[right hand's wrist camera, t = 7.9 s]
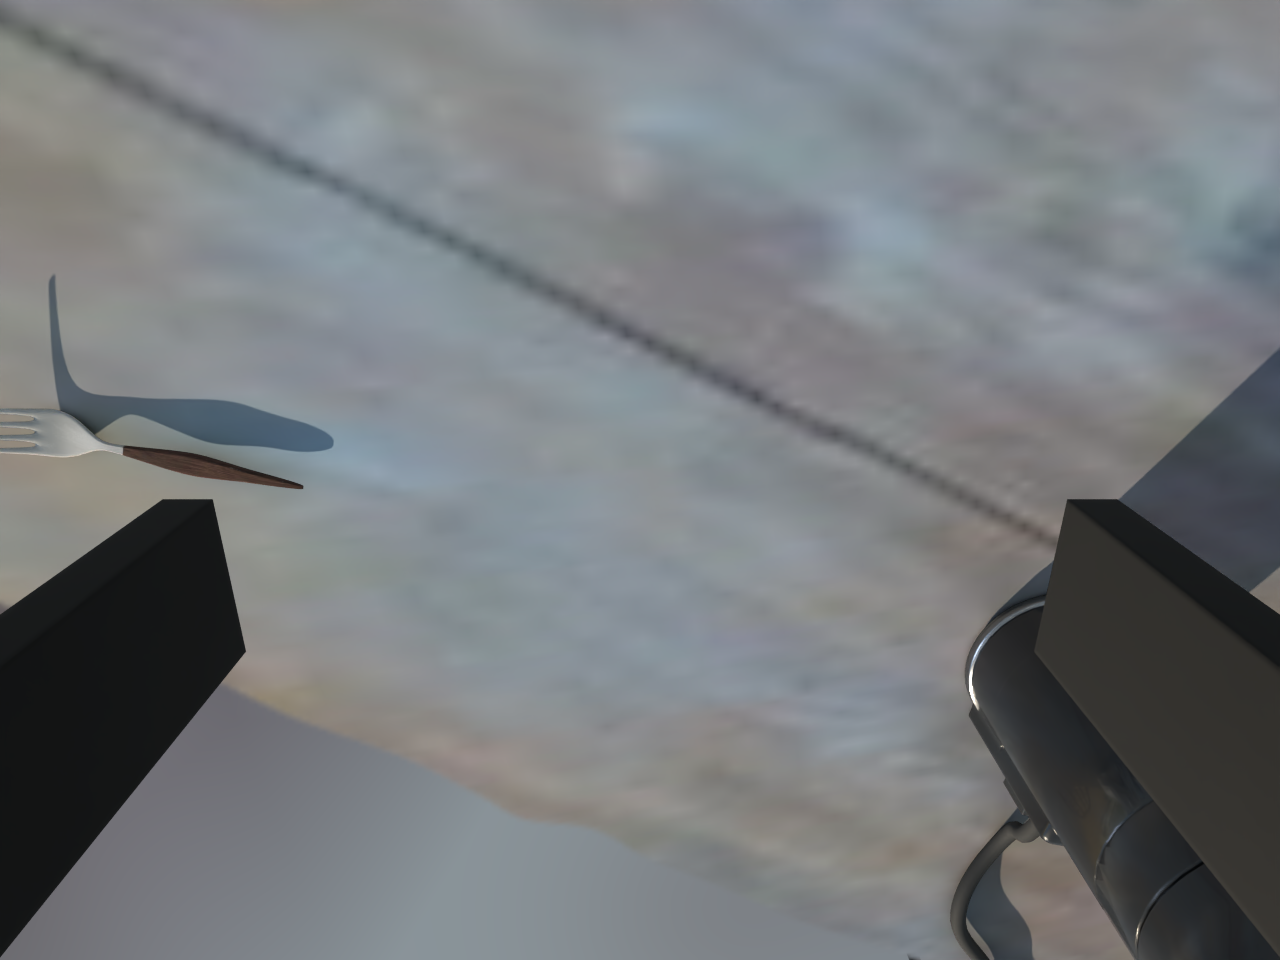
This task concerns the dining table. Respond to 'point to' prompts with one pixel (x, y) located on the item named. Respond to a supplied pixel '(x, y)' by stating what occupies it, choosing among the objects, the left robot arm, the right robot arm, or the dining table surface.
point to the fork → (119, 448)
